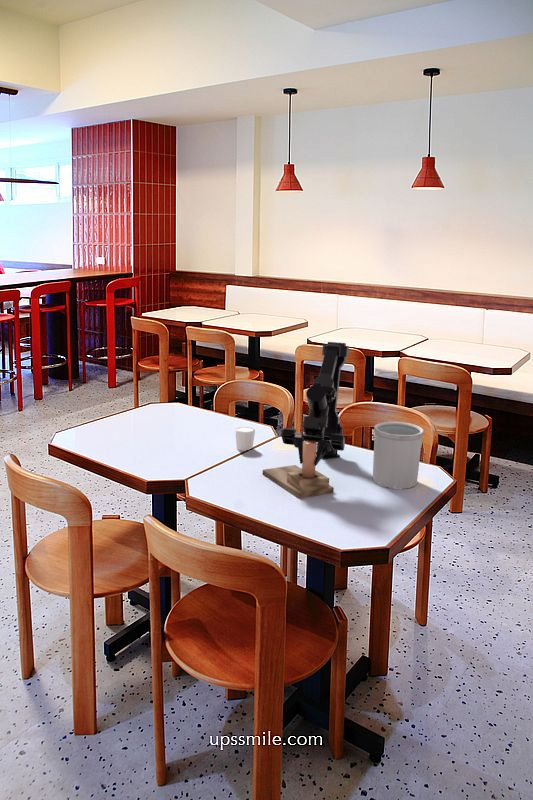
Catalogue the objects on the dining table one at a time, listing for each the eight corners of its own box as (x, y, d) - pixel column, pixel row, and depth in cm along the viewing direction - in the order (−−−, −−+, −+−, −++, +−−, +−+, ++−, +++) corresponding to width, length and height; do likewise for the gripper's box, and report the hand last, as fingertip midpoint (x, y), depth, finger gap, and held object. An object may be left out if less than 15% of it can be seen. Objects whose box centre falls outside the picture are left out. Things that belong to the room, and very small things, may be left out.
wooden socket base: (295, 469, 220) (295, 456, 219) (333, 492, 201) (334, 478, 200) (262, 474, 214) (263, 460, 213) (299, 498, 196) (299, 483, 195)
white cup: (231, 449, 238) (232, 430, 236) (239, 444, 244) (240, 425, 242) (249, 452, 235) (250, 433, 234) (257, 447, 241) (258, 428, 240)
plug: (310, 475, 205) (312, 440, 202) (317, 479, 201) (319, 443, 199) (298, 476, 203) (300, 441, 200) (305, 481, 199) (307, 445, 197)
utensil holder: (403, 494, 202) (408, 437, 198) (361, 481, 212) (365, 427, 207) (427, 482, 213) (432, 428, 209) (385, 470, 223) (390, 418, 218)
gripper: (283, 401, 203) (273, 447, 195) (345, 408, 198) (337, 455, 190) (288, 420, 212) (278, 465, 204) (348, 427, 208) (340, 472, 200)
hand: (307, 464), depth 199 cm, fingers closed on plug, 4 cm apart
